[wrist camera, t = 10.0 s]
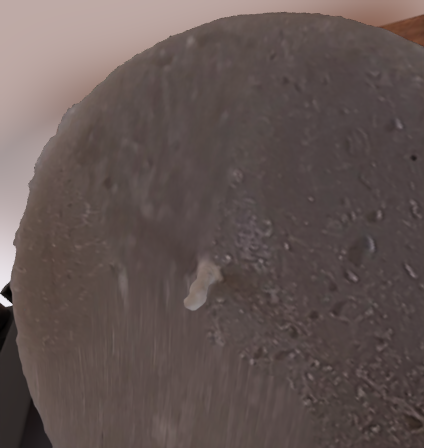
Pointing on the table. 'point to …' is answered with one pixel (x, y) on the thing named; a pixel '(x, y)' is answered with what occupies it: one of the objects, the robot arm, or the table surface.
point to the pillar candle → (233, 244)
